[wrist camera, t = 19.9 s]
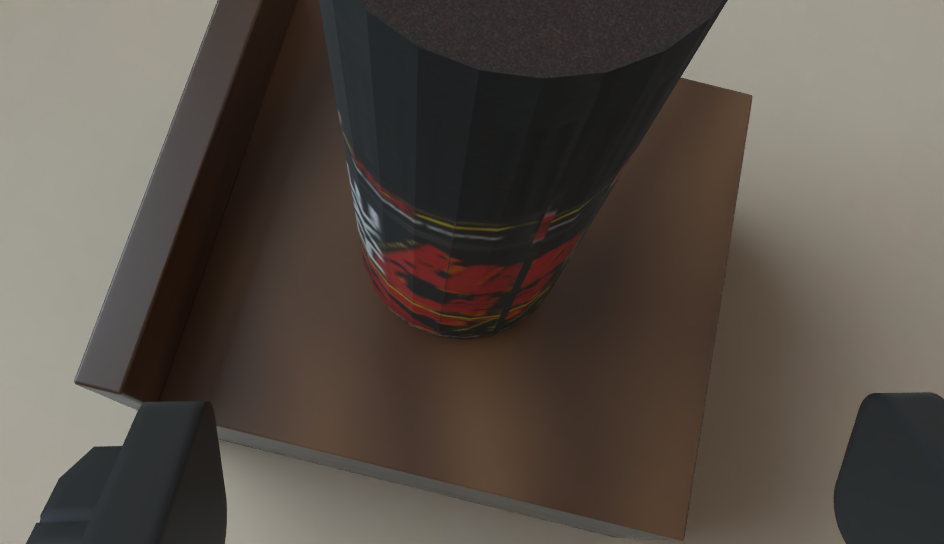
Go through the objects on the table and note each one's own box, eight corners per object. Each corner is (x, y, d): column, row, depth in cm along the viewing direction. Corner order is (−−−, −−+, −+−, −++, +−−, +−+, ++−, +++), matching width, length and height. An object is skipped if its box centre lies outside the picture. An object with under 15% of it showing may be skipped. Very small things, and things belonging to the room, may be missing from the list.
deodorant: (318, 241, 25) (198, -141, 11) (460, 111, 26) (521, -377, 12) (465, 382, 24) (549, 175, 10) (602, 240, 26) (851, -119, 11)
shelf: (678, 188, 35) (794, 44, 25) (616, 537, 31) (723, 544, 20) (298, 94, 35) (250, -91, 25) (186, 431, 31) (71, 382, 20)
